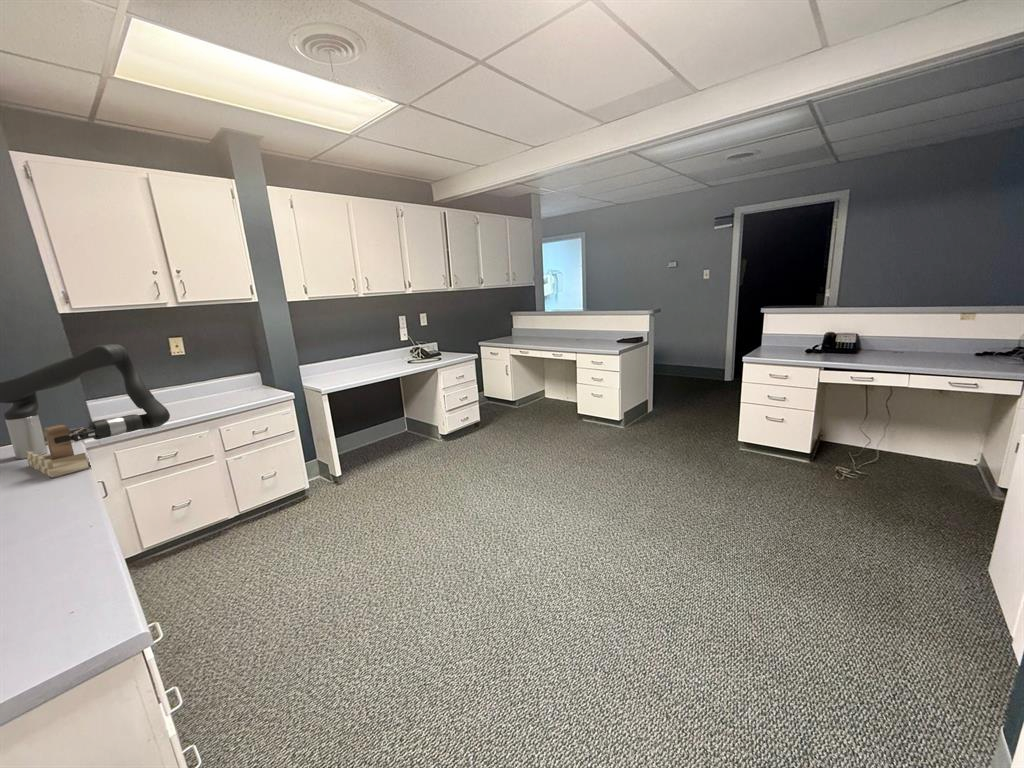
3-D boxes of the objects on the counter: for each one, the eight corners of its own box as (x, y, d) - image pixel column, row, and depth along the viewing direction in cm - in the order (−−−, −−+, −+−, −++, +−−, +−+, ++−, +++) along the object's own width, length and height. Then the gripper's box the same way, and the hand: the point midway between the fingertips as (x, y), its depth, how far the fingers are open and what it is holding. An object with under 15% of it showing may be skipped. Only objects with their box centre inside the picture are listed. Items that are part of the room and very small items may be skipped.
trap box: (29, 466, 166) (25, 451, 165) (64, 458, 175) (61, 443, 173) (52, 478, 152) (47, 461, 151) (89, 468, 161) (85, 453, 160)
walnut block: (52, 463, 157) (43, 428, 155) (71, 459, 162) (62, 424, 159) (57, 465, 155) (47, 429, 152) (75, 461, 159) (67, 426, 157)
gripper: (99, 417, 171) (42, 427, 158) (113, 420, 164) (54, 432, 151) (103, 434, 173) (47, 446, 159) (117, 438, 166) (59, 451, 152)
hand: (50, 439), depth 155 cm, fingers open, 8 cm apart
